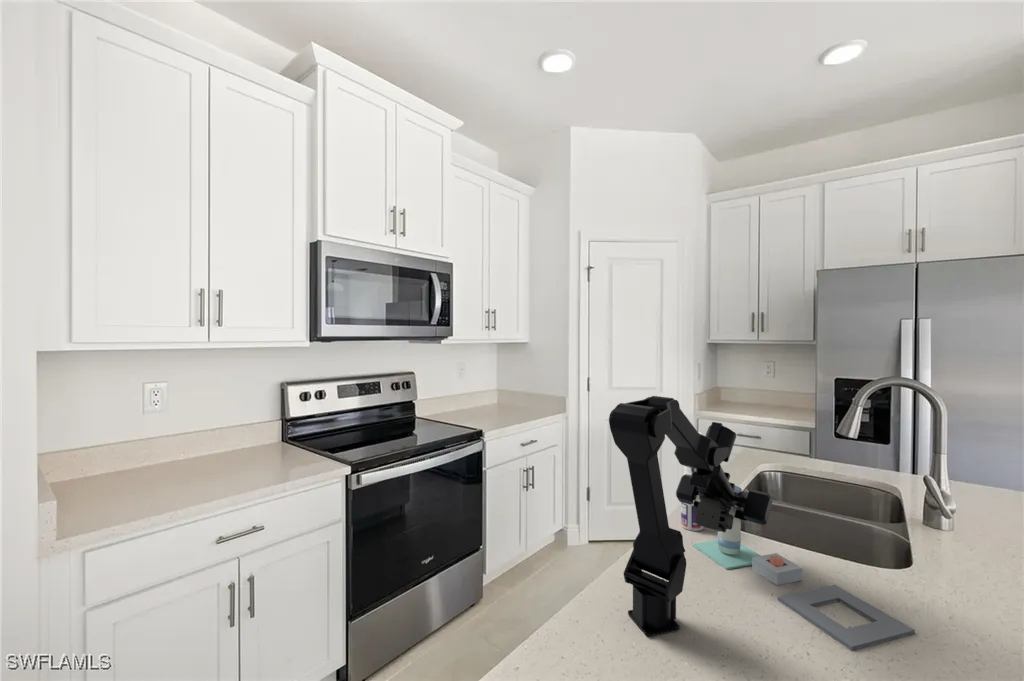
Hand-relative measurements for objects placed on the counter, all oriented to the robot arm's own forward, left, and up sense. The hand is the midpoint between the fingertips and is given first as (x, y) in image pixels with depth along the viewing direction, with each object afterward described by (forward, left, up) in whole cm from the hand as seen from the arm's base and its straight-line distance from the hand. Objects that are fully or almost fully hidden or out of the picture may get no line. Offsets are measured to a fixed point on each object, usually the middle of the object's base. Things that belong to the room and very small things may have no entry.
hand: (731, 516), depth 104 cm
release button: (+2, -11, -7) cm, 13 cm away
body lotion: (+12, +28, -8) cm, 31 cm away
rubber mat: (-1, -1, -8) cm, 8 cm away
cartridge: (-1, -1, -7) cm, 7 cm away
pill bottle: (0, +13, -8) cm, 16 cm away
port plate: (+2, -25, -8) cm, 26 cm away
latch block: (+2, -11, -8) cm, 13 cm away
